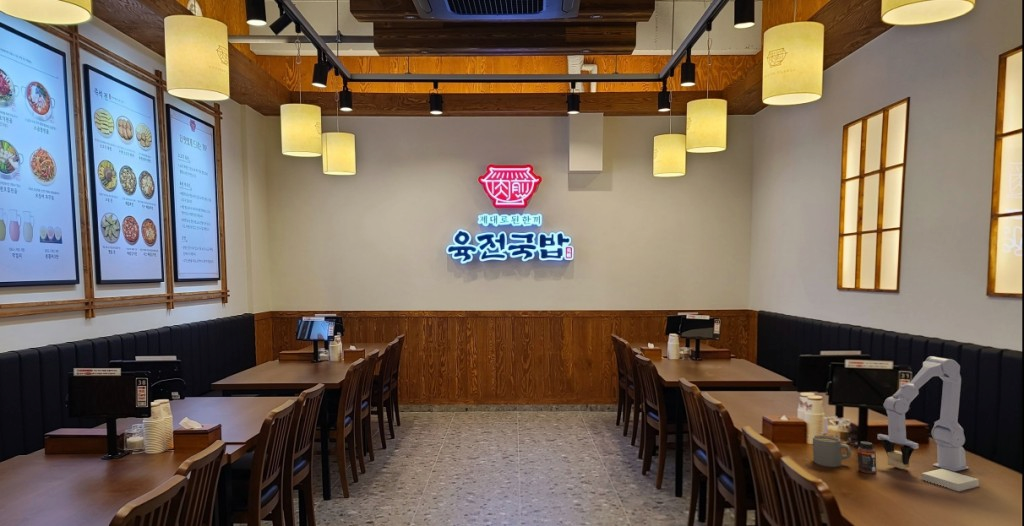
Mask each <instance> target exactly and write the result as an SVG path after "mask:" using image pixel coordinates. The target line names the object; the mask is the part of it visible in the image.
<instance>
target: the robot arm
mask: <svg viewBox="0 0 1024 526" xmlns="http://www.w3.org/2000/svg"><path fill="white" fill-rule="evenodd" d="M960 372H961V365H960V364H959V363H958V362H957V361H956V360H954V359H953V358H945V357H938V356H934V355H933V356H932V355H931V356H928V357H927V358H926V359H925V361H922V367H921V368H920V370H919V371H918V372H917V374H915V375H914V377H913V378H912V380H911V381H909V383H903V384H901V385H900V388H899V389H898V390H897V391H896V392H895V393H894V394H892V395H891V396H889V397H887V398H886V399H885V400H884V403H882V404H883V408H884V409H885V411H886V414H887V427H888V428H887V429H888V430H887V431H888V432H887V433H888V435H887V434H882V433H877V440H881V442H880V443H881V445H882V447H883V448H884V451H885V453H886V455H887V456H886V457H888V452H891V451H895V444H897V445H901V446H899V447H900V452H902V457H903V464H904V465H907V464H908V463H909V464H910V458H911V457H912V454H913V452H914V450H916V449H919V447H920V446H919V443H918V442H915V441H912V440H910V439H907V430H906V429H907V428H906V427H907V426H906V425H907V424H906V413H907V412H908V411H909V408H910V405H911V402H913V400H914V399H915V398H916V397H917V396H918V395H919V394H920V393H919V392H920V391H919V390H920V389H921V387H923V386H924V385H925V384H926V383H927V382H929V380H930V379H932V378H933V377H939V378H940V379H941V380H942V392H941V394H942V395H941V404H940V414H939V419H938V420H936V421H934V425H933V427H932V429H931V436H932V438H933V439H934V440H935V441H934V442H935V443H936V448H937V449H936V451H937V452H936V455H937V462H936V463H932V466H934V467H937V468H939V469H945V470H948V471H952V472H958V471H959V472H960V471H962V470H963V471H964V470H967V469H969V466H967V459H966V457H967V456H966V450H965V448H964V447H963V445H964V444H965V443H966V437H965V434H964V428H963V427H962V426H961V425H960V423H959V422H958V421H959V420H958V419H959V409H960V398H961V387H962V386H961V385H962V376H961V374H960Z"/></svg>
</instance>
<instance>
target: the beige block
mask: <svg viewBox="0 0 1024 526" xmlns="http://www.w3.org/2000/svg"><path fill="white" fill-rule="evenodd" d="M921 480H922V481H924V480H925V481H924V482H927V481H928V483H930V482H931V483H930V484H934V483H935V485H937V484H938V485H937V486H940V485H941V487H943V486H944V487H943V488H946V487H947V489H949V490H953V491H956V492H961V491H966V490H969V489H973V488H977V487H979V486H980V481H979V478H975V477H971V476H969V475H965V474H962V473H958V472H956V471H951V470H947V469H944V468H938V469H935V470H934V469H933V470H930V471H929V470H928V471H926V472H922V473H921Z"/></svg>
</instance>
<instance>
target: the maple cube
mask: <svg viewBox="0 0 1024 526" xmlns="http://www.w3.org/2000/svg"><path fill="white" fill-rule="evenodd" d="M887 465H888V466H891V467H895V468H897V469H906V468H909V467H910V462H909V463H908V464H907V465H904V464H903V457H902V452H901V451H899V450H894V451H891V452H888V456H887Z"/></svg>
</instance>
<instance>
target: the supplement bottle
mask: <svg viewBox="0 0 1024 526" xmlns="http://www.w3.org/2000/svg"><path fill="white" fill-rule="evenodd" d="M859 444H860V446H859V447H858V448H857V464H858V465H857V467H858V470H859V471H860V472H862V473H865V474H870V475H871V474H872V475H873V474H876V473H877V456H876V455H877V453H876V450H875V448H874V447H873V443H872V442H869V441H866V440H865V441H860V443H859Z"/></svg>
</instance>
